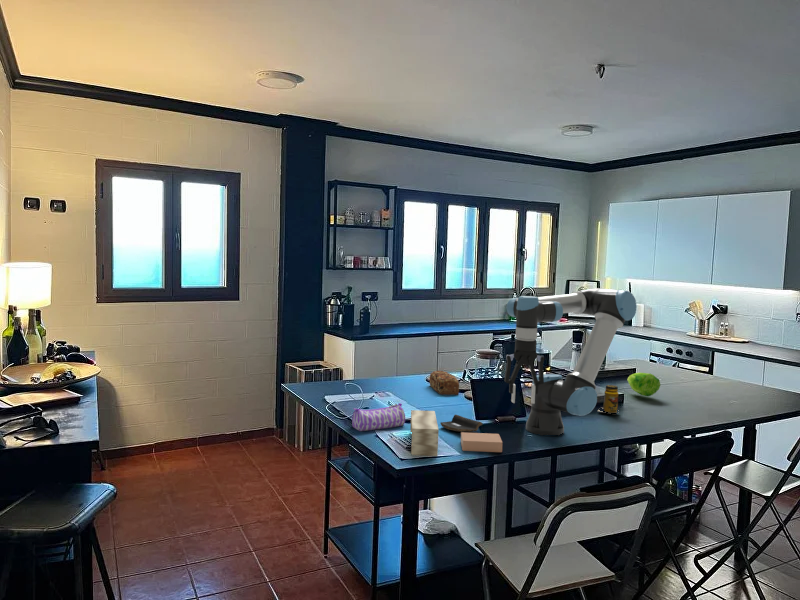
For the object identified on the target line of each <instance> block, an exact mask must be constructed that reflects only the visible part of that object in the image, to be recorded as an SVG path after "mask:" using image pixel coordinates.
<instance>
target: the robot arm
mask: <svg viewBox="0 0 800 600" xmlns="http://www.w3.org/2000/svg"><path fill="white" fill-rule="evenodd" d="M506 312H507V314H508V315H509V317H512V318H515V319H516V320H515V321H516V323H515V340H514V352H513V353H512V354H506V355H505V360H506V364H505V373H504V378H503V380H504V382H505V383H506V384H508V393H509V394H511V399H510V401H511V403H513V404H515V403H516V388H517V387H516V384H515V381H516V379H517V376H518V373H519V371H520V368H521V367H522V366H528V367H529V370H530V371H529V372H530V373H531V374H530V375H531V378H532V384H531V389H530V391H531V394H530V403H531V406H530V413H529V415H528V418H527V419H526V423H525V430H526V431H527V432H529V433H531V434H535V435H537V434H540V435H539V436H543V435H558V436H561V435H560V434H562V433H563V434H564V433H565V426H564V422H563V419H562V414H561V411H562V412H565V413H567V414H570V415H573V416H580V417H584V416H587V415H588V414H590V413H591V412H592V411H593V410H594V409H595V408H596V405H597V403H598V393H597V391H596V388H597V385H596V384H595V380H596V378H597V376H598V374H599V371H600V369H601V367H602V364H603V362H604V360H605V357H606V355H607V353H608V351H609V348H610V346H611V343H612V342H613V339H614V338H615V335H616V333H617V330H618V329H621V328H623V326H624V325H625V322H626V321H631V320H632V319H634V317H635V315H636V313H637V301H636V298H635V296H634V294H633V293H632V292H631V291H629V290H623V289H612V288H610V289H609V288H602V287H601V288H599V287H596V288H589V289H581V290H574V291H572V292H571V293H569V294H568V293H567V294H558V295H556V294H555V295H547V296H533V295H520V296H519V297H512V298H510V299H509V300H508V301H507V303H506ZM570 313H572V314H574V315H580V314H581V315H588V316H594V319H595V323H594V324H593V327H592V329H591V331H590V334H589V336H588V338H587V340H586V343H585V344H584V347H583V349H582V351H581V353H580V356H579V358H578V359H577V362H576V364H575V367H574V369H573V371H572V372H570V373H568V374H567V375H566V376H565V379H564V378H563V376H562V375H561V374H555V373H554V374H553V373H545V374H544V363H545V362H544V361H545V357H544V356H543V355H539V354H537V344H538V343H537V340H536V339H538V323H553V322H558V321H560V320H561V319H562V317H563V316H564V314H570ZM514 359H515V361H516V362H515V365H514V369H513V370H512V373H511V367H512V361H513V360H514ZM536 359H537V360H536ZM535 361H537V366H538V374H537V373H536V370H535V366H534V362H535ZM510 375H511V376H510ZM563 379H564V380H563ZM563 434H562V435H563Z"/></svg>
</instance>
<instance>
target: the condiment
mask: <svg viewBox="0 0 800 600" xmlns="http://www.w3.org/2000/svg"><path fill="white" fill-rule="evenodd" d="M618 388H619V387H618V386H617V385H615V384H607V385H605V388H604V389H605V390H604V395H603V396H604V397H603V407H601V408H602V409H604V411H605V412H603V411H600V410H599V409H598V410H597V412H600V413H606V412H608V413H607V414H611V413H617V410H618V406H619V392H618ZM617 414H618V413H617Z"/></svg>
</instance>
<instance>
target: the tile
mask: <svg viewBox="0 0 800 600" xmlns="http://www.w3.org/2000/svg"><path fill="white" fill-rule="evenodd" d="M460 445H461V450H462V452H463V451H464V452H465V451H466V452H487V453H503V440H502V438H501V436H500V434H499V433H490V432H489V433H487V432H485V433H482V432H481V433H480V432H461V431H460Z"/></svg>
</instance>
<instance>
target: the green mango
mask: <svg viewBox="0 0 800 600" xmlns="http://www.w3.org/2000/svg"><path fill="white" fill-rule="evenodd" d="M627 382H628V385H629V386H630V388H631V390H632V391H633V392H635V393H637V394H638V395H641V396H645V397H650V396H653V395H654V394H656V393H657V392H658V391H659V390H660V388H661V382H660V379H659V378H657V377H656V376H655V375H654V374H652V373H650V372H649V373H647V372H635V373H632V374H630V375H629V376H628V377H627Z"/></svg>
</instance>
